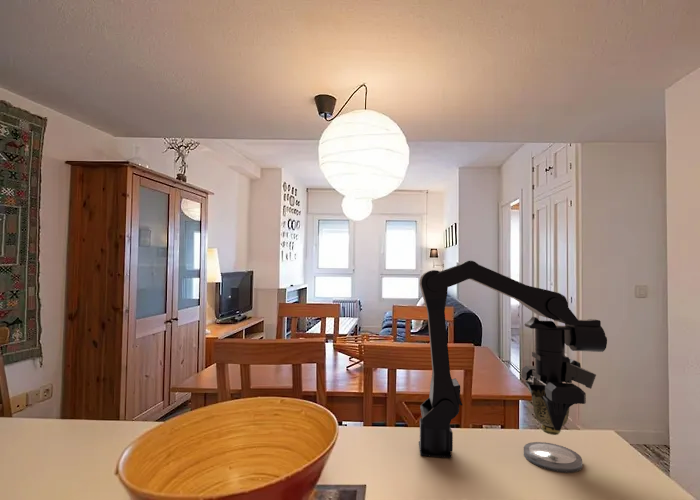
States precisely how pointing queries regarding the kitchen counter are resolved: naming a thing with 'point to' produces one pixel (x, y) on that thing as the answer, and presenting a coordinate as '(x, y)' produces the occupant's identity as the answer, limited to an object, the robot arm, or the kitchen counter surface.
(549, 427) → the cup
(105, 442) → the kitchen counter surface
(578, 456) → the gray-rimmed plate
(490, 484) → the kitchen counter surface
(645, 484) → the kitchen counter surface
